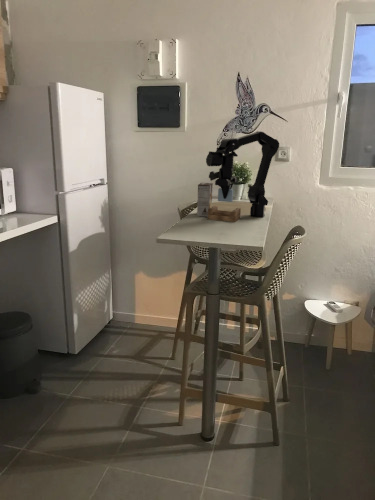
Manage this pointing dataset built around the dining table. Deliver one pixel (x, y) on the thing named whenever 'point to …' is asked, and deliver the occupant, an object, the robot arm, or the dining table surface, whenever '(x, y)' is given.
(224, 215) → the brown frame
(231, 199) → the blue-gray rectangular block
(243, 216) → the dining table surface
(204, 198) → the coffee box
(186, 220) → the dining table surface
